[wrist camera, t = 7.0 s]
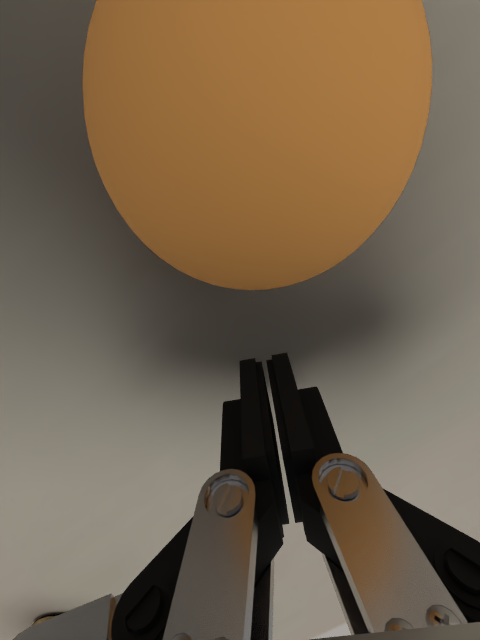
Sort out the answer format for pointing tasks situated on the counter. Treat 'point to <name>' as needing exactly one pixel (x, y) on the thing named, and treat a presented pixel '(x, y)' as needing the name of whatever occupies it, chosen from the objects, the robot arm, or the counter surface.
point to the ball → (256, 127)
